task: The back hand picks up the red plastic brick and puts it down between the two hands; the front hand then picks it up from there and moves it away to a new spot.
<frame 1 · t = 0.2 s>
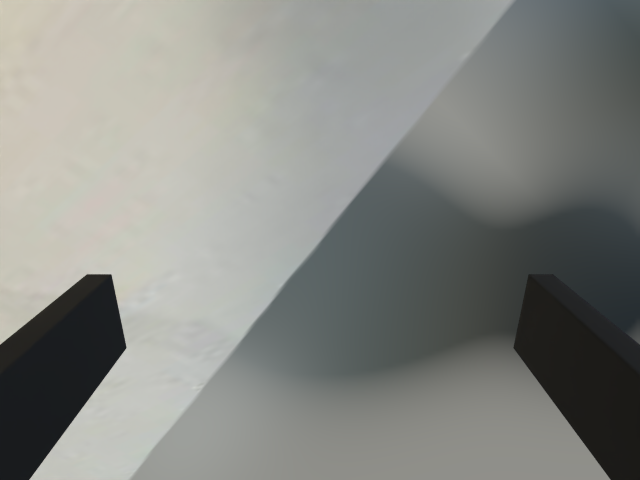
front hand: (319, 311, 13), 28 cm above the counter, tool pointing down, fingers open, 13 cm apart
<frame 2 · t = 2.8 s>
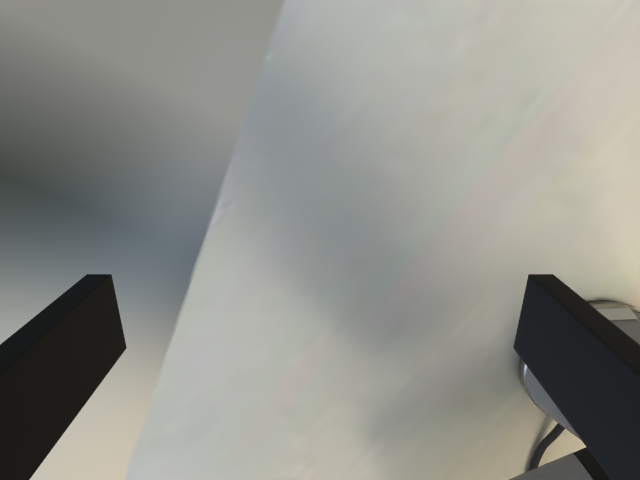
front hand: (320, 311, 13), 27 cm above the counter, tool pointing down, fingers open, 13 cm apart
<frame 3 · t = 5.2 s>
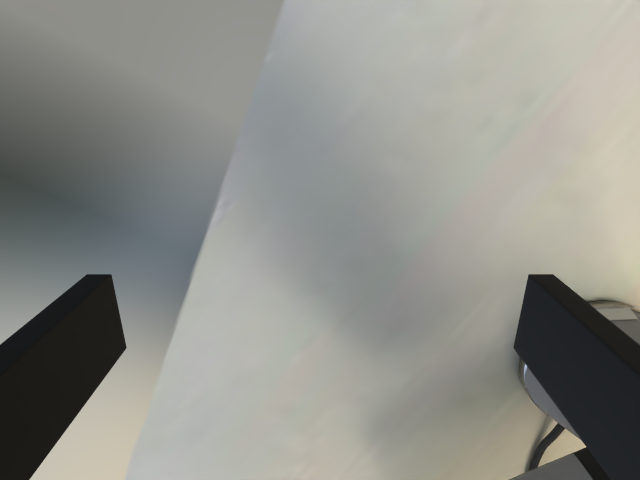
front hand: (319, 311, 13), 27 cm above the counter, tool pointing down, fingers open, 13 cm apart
when the back hand's fingers open (6 cm above the counter, at t = 7.6 s): brick drops 2 cm, on the counter.
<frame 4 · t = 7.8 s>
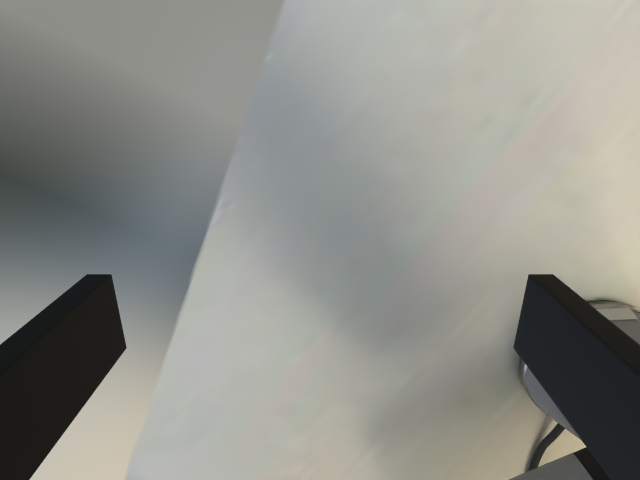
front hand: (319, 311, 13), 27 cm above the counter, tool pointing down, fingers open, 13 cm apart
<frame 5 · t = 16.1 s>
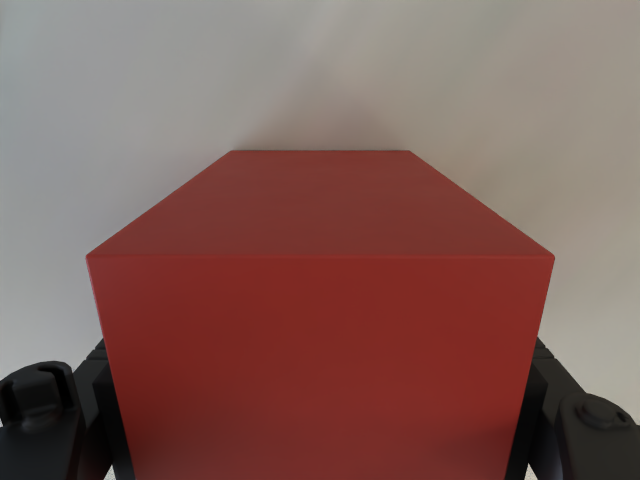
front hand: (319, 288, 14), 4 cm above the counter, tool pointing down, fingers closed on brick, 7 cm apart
brick: (320, 248, 18), on the counter, touching front hand
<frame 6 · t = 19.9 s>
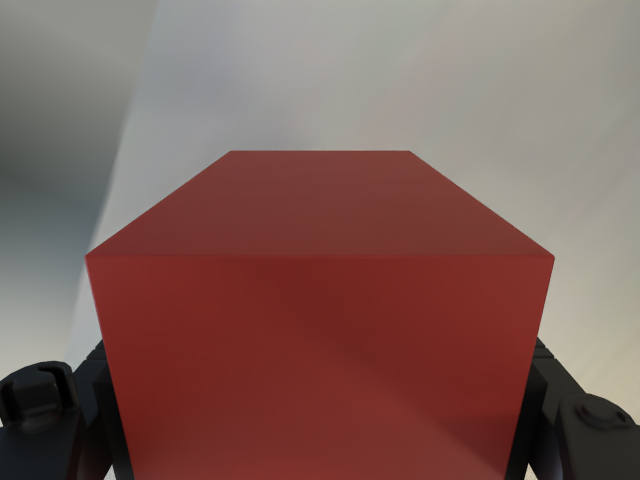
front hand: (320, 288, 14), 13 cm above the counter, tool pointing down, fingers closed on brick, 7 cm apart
brick: (319, 248, 18), point 9 cm above the counter, touching front hand
when the front hand's fingers open (6 cm above the counter, at t = 23.8 s): brick drops 2 cm, on the counter.
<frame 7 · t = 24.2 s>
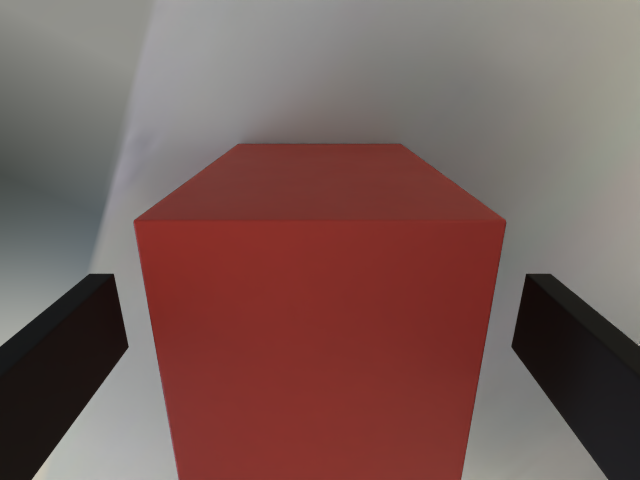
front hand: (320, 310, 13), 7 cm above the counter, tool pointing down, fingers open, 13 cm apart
brick: (319, 233, 20), on the counter
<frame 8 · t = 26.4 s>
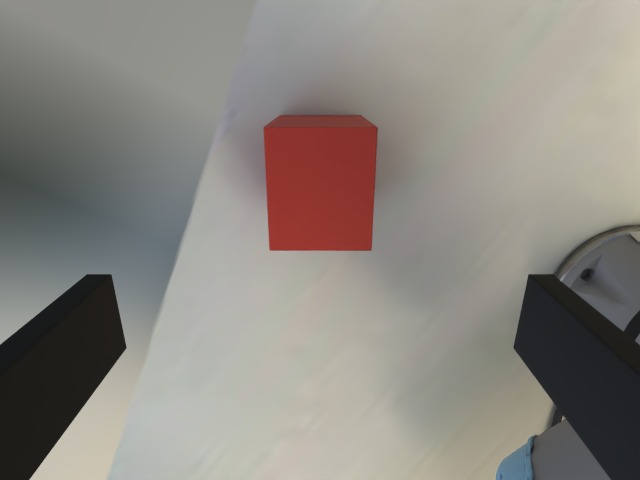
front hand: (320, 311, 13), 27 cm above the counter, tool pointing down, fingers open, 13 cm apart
brick: (320, 163, 38), on the counter
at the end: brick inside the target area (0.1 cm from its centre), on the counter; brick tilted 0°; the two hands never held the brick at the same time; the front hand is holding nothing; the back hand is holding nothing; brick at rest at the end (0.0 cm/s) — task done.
